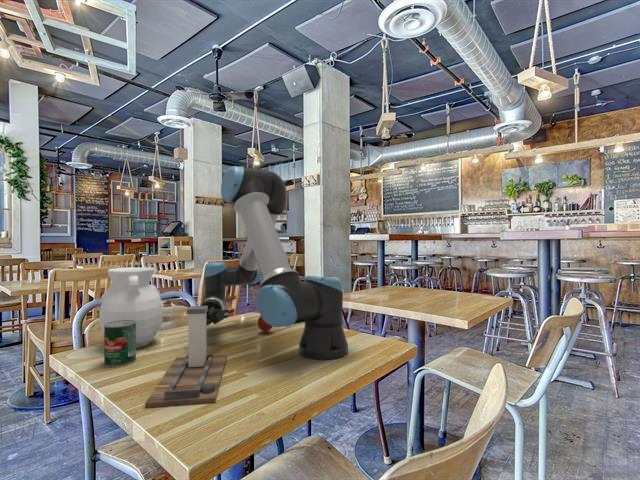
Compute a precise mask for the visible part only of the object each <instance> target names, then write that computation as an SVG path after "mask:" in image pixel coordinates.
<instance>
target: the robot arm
mask: <svg viewBox="0 0 640 480" xmlns="http://www.w3.org/2000/svg"><path fill="white" fill-rule="evenodd" d="M220 183H221V184H220V195H221V199H222V201H224V202H226V203H227V204H229V203H231V204H232V207H233V210H234V212H235V213H236V214H238V215H240V216H241V219H242V221H243V224H244V227H245V230H246V233H247V236H248V238H247V240H246V242H245V243H246V244H245V245H244V248H243V251H242V254H241V256H240V259H239V262H238V265H237V266H226V263H225V262H223V261H221V262H220V261H219V262H218V261H216V262H207V263H205V265H204V271H203V272H204V275H203V276H204V278H203V279H204V301H203V302H202V304H201V305H200V306H208V310H207V312H206V327H207V326H210V325H211V324H213V325H217V324H218V323H220V322H222V321H223V320H224V319H227V318H229V309H227V308H226V305H227V298H226V287H235V286H244V285H245V286H247V285H253V284H256V283H258V282H259V281H260V280H261V277H262V281H261V283H260V284H259V285H260V286H259V287H260V289H259V291H258V292H257V297H256V299H257V302H256V306H257V309H258V312H259V314H260V316H261V317H262V318H263V320H264V321H265V322H266V323H267V324H269V325H271V326H273V327H272V328H282V327H284V328H288V327H291V326H294V325H298V324H302V323H304V329H303V331H302V334H301V337H300V340H299V343H298V353H299V354H300V355H301V356H303V357H304V358H305V357H306V358H307V359H314V360H333V359H340V358H342V356H343V357H345V356H347V354H349V344H348V340H347V337H346V334H345V330H344V328H343V310H344V309H343V306H344V305H343V304H344V303H343V300H344V299H343V298H344V297H343V294H344V291H343V282H342V281H341V279H340V278H336V277H328V276H317V275H315V276H314V275H306V276H305V277H304V279H303V281H302V279H301V276H300V275H299V272H298V271H296V270H294V269H292V268H291V266H290V263H289V260H288V258H287V255H286V252H285V250H284V247H283V245H282V242H281V239H280V237H279V234H278V231H277V229H276V227H275V226H276V224H277V221H278V218H279V216H281V215H283V213H284V211H285V208H286V206H287V205H286V204H287V200H288V199H287V198H288V197H287V196H288V192H287V188H286V185H285V182H284V180H283V179H282V177H280V175H278V174H277V173H276V172H273V171H271V170H264V169H258V168H252V167H245V166H243V165H242V166H237V165H233V166H230V167H228V168H227V169H226V171H225V172H224V174H223V176H222V181H221V182H220ZM344 355H345V356H344ZM339 357H340V358H339Z"/></svg>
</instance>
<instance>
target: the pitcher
mask: <svg viewBox="0 0 640 480" xmlns="http://www.w3.org/2000/svg"><path fill="white" fill-rule="evenodd" d="M106 272H107V274H108V277H109V279H110V281H111V283H112V285H110V287H108V289H105V292H104V294H103V295H101V298H100V300H101V301H102V302H101V304H100V309H99V315H98V324H99V328H100V331H101V333H102V335H103V336H104V325H105V324H106V323H109V322H113V321H120V320H134V321H136V349H138V348H139V349H140V348H143V347H145V346H147V345H148V344H149V343H150V342H152V340H153V339H154V338H155V337H156V336H157V334H158V333H159V331H160V329H161V326H162V323H163V318H164V309H163V302H162V299H161V292H160V290H158V288H157V286H155V284H150V282H151V280H152V277H153V275H154V272H155V267H153V266H151V267H150V266H141V267H140V266H139V267H138V266H136V267H135V266H132V267H131V266H129V267H127V266H126V267H115V268H109V269H108V270H107V271H106ZM142 346H143V347H142Z"/></svg>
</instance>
